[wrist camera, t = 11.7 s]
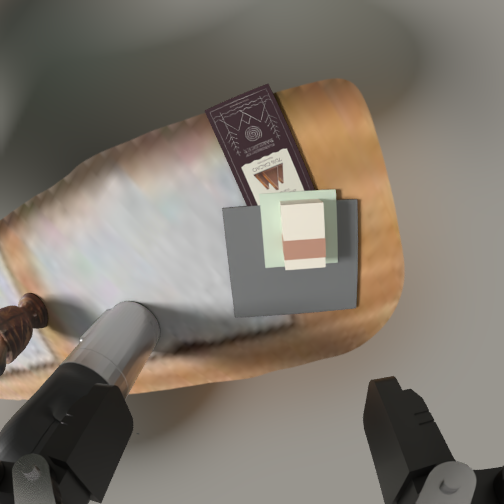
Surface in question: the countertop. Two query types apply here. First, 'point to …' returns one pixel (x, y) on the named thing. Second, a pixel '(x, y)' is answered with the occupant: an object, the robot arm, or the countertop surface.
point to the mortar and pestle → (19, 327)
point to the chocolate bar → (258, 145)
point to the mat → (272, 258)
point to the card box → (303, 234)
